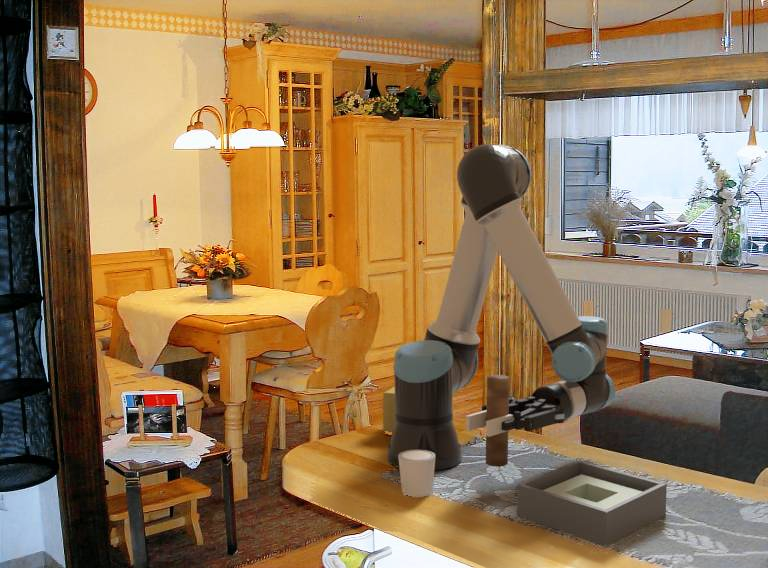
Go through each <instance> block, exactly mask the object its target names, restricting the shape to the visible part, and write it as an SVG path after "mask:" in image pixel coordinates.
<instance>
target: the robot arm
mask: <svg viewBox="0 0 768 568" xmlns="http://www.w3.org/2000/svg"><path fill="white" fill-rule="evenodd" d="M456 181H457V185H458V188H459V191H460V194H462V197H461V200H460V204H461V206H462V208H463V209H464V211H465V212H464V213H465V215H464V219H463V223H462V226H461V230H460V233H459V237H458V241H457V245H456V248H455V252H454V255H453V260H452V262H451V267H450V270H449V274H448V277H447V278H448V279H447V282H446V284H445V287H444V293H443V296H442V299H441V304H440V307H439V311H438V315H437V318H436V320H435V321H433V322H431V323H428V325H427V328H426V332H425V335H424V339H423V340H416V341H413V342H408V343H406V344H402V345H401V346H400V347H398V348H397V349H396V351H395V353H394V362H393V372H394V373H393V376H394V378H393V379H394V386H395V426H394V429H393V433H392V435H391V438H390V442H389V444H388V446H387V450H386V452H387V454H386V455H387V457H386V458H388V459H387V462H388V461H389V462H390V463H392V464H393V465H392V464H391V465H392V466H394V465H396V466H398V467H397V468H399V458H398V454H400V453H401V452H404V451H408V450H427V451H430V452H433V453H434V454H435V469H434V471H439V470H440V471H441V470H446V469H449V468H453V467H455V466H457V465H459V464H460V463H461V462H462V459H463V449H462V446H461V443H459V438H458V434H457V430H456V428H455V427H456V426H455V425H454V424H455V423H454V417H453V414H454V413H453V408H454V407H453V405H454V404H453V403H454V401H453V400H454V397H453V396H454V394H455V393H457V392H458V391H460V390H462V389H463V388H465V387H466V386H467V385H469V383H470V382H471V381H472V379H473V378H474V377H475V374H476V373H477V370H478V366H479V354H478V351H479V350H478V349H479V347H480V343H481V338H480V336H479V334H478V332H477V327H478V325H479V321H480V317H481V313H482V310H483V306H484V302H485V299H486V297H487V292H488V288H489V285H490V282H491V281H490V280H491V278H492V275H493V274H492V273H493V272H494V271H493V270H494V267H495V264H496V260H497V256H498V254H499V256H500V258H501V260H502V261H503V263H504V265H505V267H506V269H507V271H508V273H509V275H510V278H511V279H512V281H513V282H514V285H515V286H516V288H517V290H518V292H519V294H520V296H521V298H522V300H523V302H524V303H525V306H526V307H527V309H528V312H529V313H530V315H531V316H532V319H533V320H534V323H535V324H536V326H537V329H538V331H539V332H540V334H541V335H542V338H543V340H544V342H545V344H546V345H547V348H548V349H549V351H550V354H551V366H552V370H553V371H554V373H555V374H556V376H558V378H560V379H562V380H559V381H557V382H553V383H550V384H547V385H542V386H539V387H538V388H536V389H535V390H534V392H532V395H531V396H527V397H525V398H522V399H515V397H514V396H513V395H509V414H508V415H505V416H502V417H498V418H495V419H491V420H488V421H486V412H487V403H485V404H482V405H481V411H478V412H473V413H471V414H468V415H467V414H466V417H465V418H466V420H465V422H466V424H465V430H466V432H467V431H468V432H470V431H474V430H478V429H481V428H484V427H485V437H486V436H488V437H490V436H493V435H497V434H500V433H503V432H506V431H508V432H509V431H512V430H517V431H519V430H521V429H523V430H524V431H525V432H531V431H535V430H538V429H541V428H544V427H548V426H549V427H550V426H553V425H556V424H557V425H558V424H563V423H565V422H568V421H569V420H570V419H573V418H576V417H580V416H583V415H587V414H590V413H595V412H598V411H600V410H602V409H604V408H606V407H608V406H610V404H612V403H613V401H614V399H615V397H616V387H615V384H614V382H613V379H612V377H610V376H609V375H608V374H607V353H608V352H607V350H608V338H609V333H608V321H607V320H606V319H605V318H602V317H598V316H590V315H583V316H582V315H581V316H578V314H577V312H576V311H575V308H574V307H573V305H572V303H571V301H570V299H569V298H568V296H567V293H566V292H565V290H564V287H562V285H561V282H560V280H559V279H558V276H557V275H556V272H555V270H554V269H553V267H552V265H551V263H550V261H549V260H548V258H547V256H546V254H545V252H544V250H543V248H542V246H541V244H540V242H539V240H538V238H537V237H536V235H535V233H534V231H533V228H532V227H531V226H530V223H529V222H528V220H527V217H526V216H525V214H524V212H523V210H522V208H521V205H522V201H523V198H522V197H523V196H524V195H525V194H526V192H527V191H528V189H529V187H530V185H531V181H532V169H531V166H530V163H529V161H528V159H527V157H526V156H525V155H524V154H523V153H522V152H521V151H519V150H517V149H516V148H515V147H511V146H509V145H504V144H490V143H489V144H488V143H487V144H486V143H485V144H480V145H476V146H475V147H472V148H470V149H469V150H468V151H467V152H466V153H464V155H463V156H462V157H461V159H460V161H459V162H458V165H457V171H456ZM389 462H388V463H389ZM390 463H389V464H390ZM396 466H395V467H396Z"/></svg>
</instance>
